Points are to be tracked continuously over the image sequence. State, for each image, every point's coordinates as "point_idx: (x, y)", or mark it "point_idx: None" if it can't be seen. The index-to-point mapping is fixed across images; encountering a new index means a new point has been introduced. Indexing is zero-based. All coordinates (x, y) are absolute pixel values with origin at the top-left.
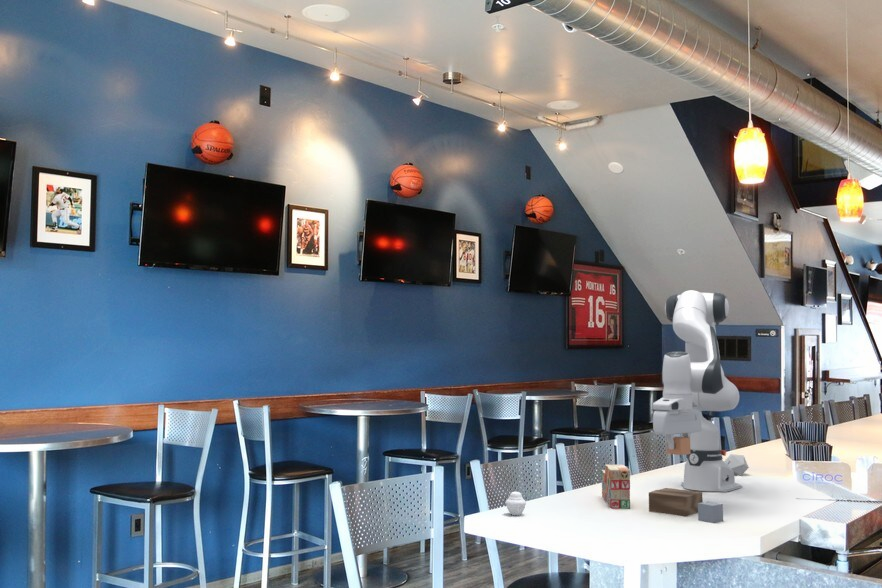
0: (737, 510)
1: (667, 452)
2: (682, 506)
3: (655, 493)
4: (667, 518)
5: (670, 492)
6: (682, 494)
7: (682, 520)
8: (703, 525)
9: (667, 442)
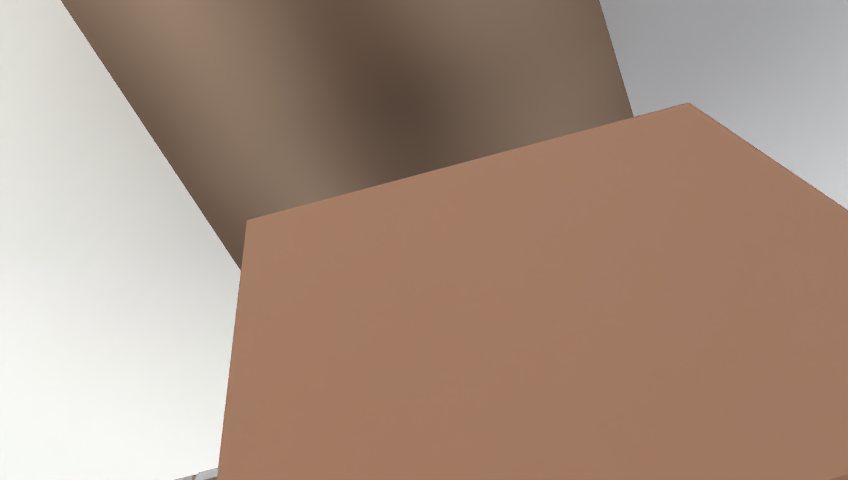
0: (824, 166)
1: (247, 250)
2: None
3: (66, 6)
4: (71, 233)
5: (300, 23)
6: (344, 180)
7: (150, 324)
8: (195, 474)
9: (228, 467)
